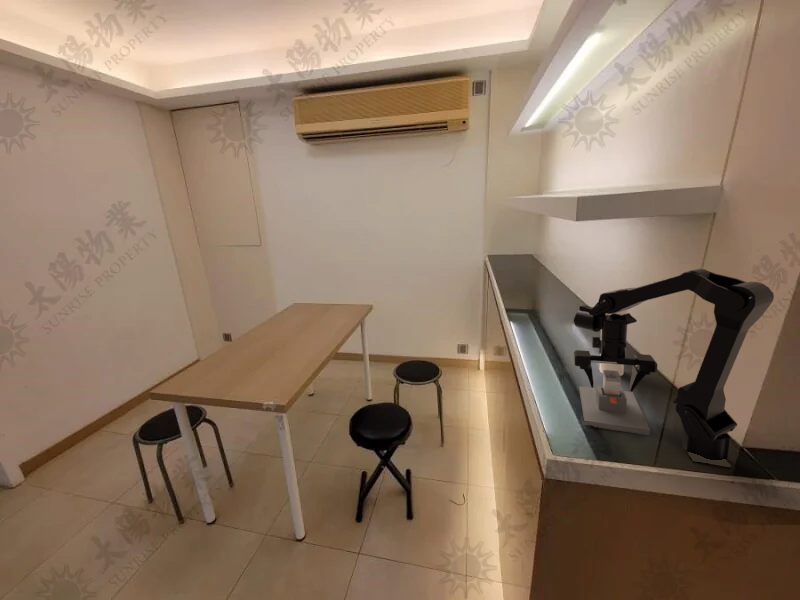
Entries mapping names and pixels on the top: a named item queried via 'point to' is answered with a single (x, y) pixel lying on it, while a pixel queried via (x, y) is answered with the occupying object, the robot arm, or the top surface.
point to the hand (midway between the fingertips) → (611, 389)
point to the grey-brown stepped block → (611, 383)
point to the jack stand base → (612, 411)
